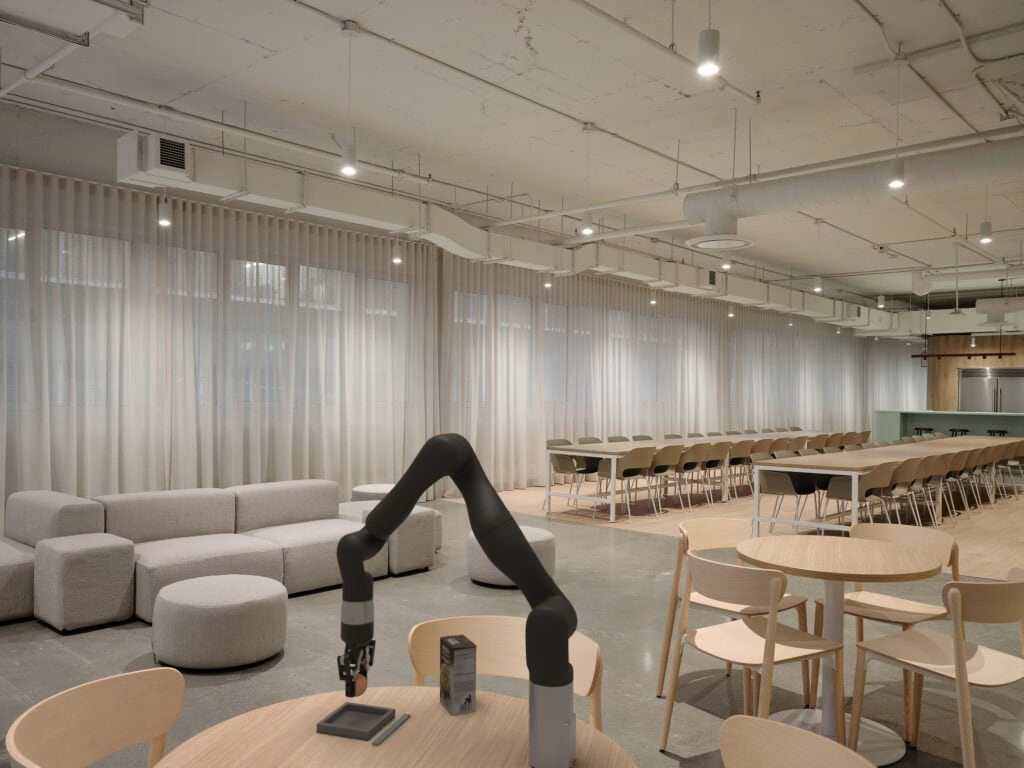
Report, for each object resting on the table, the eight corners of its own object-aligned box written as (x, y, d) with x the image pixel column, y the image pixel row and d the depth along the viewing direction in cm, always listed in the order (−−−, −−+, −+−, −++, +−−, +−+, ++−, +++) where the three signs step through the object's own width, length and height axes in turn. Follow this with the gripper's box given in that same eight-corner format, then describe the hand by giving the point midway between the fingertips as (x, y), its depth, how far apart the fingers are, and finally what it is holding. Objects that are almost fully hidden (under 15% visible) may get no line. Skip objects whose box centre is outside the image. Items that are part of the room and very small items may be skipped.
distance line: (410, 716, 182) (410, 714, 182) (378, 746, 167) (378, 743, 167) (404, 715, 182) (404, 713, 182) (372, 745, 167) (372, 742, 167)
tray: (395, 717, 181) (395, 709, 181) (368, 741, 169) (368, 732, 169) (346, 710, 185) (346, 701, 185) (316, 732, 173) (316, 723, 173)
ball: (371, 693, 179) (371, 671, 179) (360, 701, 174) (360, 679, 174) (352, 690, 181) (352, 669, 181) (340, 698, 176) (341, 676, 176)
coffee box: (438, 702, 191) (439, 636, 191) (462, 697, 193) (463, 633, 193) (451, 716, 182) (451, 647, 183) (476, 711, 185) (477, 644, 185)
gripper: (356, 629, 170) (355, 706, 169) (386, 611, 183) (385, 683, 183) (326, 625, 172) (325, 702, 172) (358, 608, 185) (357, 679, 185)
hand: (356, 691), depth 177 cm, fingers closed on ball, 5 cm apart
